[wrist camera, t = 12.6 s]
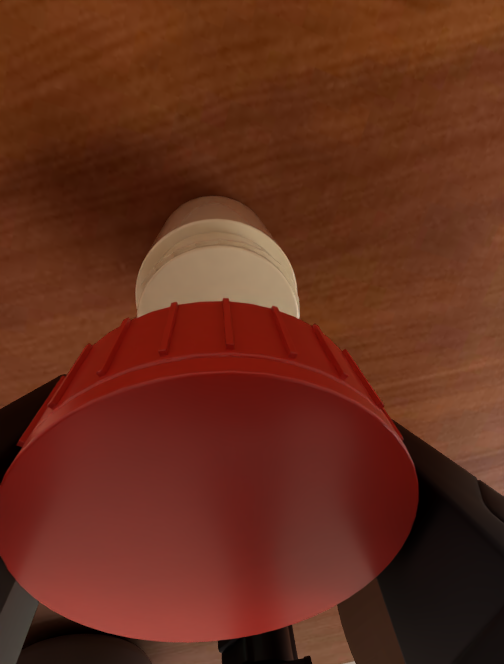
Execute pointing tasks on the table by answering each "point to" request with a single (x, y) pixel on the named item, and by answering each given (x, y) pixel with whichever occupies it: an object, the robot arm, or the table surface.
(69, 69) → the table surface
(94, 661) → the vase
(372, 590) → the alarm clock
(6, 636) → the bottle
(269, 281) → the jar
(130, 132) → the table surface
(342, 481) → the jar lid
